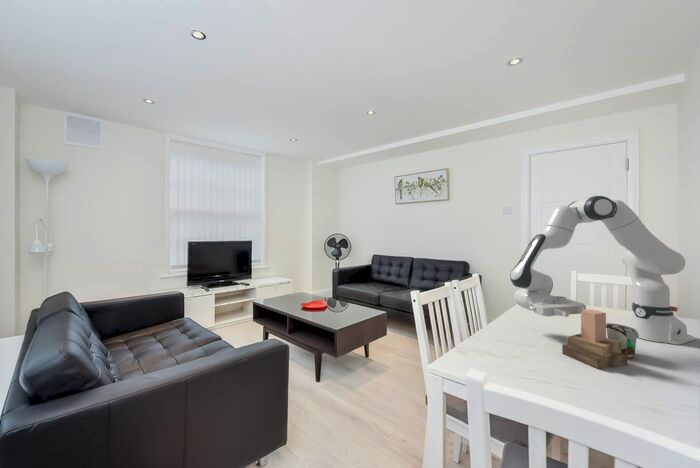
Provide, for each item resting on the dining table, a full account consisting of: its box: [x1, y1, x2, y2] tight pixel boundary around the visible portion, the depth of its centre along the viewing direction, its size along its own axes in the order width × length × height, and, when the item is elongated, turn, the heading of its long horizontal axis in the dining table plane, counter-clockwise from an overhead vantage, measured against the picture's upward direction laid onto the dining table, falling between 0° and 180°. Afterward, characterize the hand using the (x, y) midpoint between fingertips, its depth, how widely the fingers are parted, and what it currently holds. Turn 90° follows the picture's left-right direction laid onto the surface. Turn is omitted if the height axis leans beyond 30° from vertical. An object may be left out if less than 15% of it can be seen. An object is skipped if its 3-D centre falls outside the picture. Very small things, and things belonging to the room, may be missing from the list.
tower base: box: [561, 343, 628, 370], centre depth 107 cm, size 13×13×4 cm
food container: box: [606, 322, 640, 360], centre depth 111 cm, size 12×6×10 cm, turn 168°
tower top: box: [567, 333, 621, 359], centre depth 107 cm, size 11×11×4 cm
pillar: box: [580, 308, 607, 342], centre depth 107 cm, size 5×5×10 cm
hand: (577, 313), depth 113 cm, fingers open, 8 cm apart
